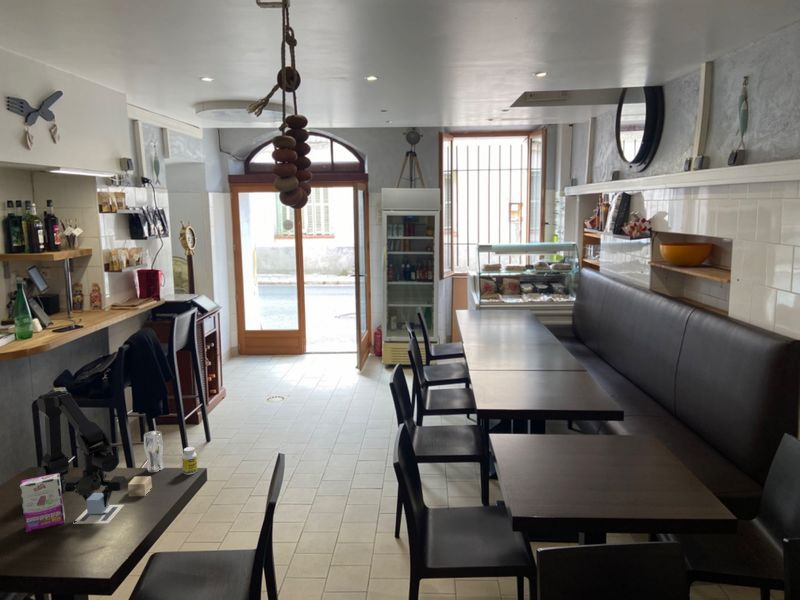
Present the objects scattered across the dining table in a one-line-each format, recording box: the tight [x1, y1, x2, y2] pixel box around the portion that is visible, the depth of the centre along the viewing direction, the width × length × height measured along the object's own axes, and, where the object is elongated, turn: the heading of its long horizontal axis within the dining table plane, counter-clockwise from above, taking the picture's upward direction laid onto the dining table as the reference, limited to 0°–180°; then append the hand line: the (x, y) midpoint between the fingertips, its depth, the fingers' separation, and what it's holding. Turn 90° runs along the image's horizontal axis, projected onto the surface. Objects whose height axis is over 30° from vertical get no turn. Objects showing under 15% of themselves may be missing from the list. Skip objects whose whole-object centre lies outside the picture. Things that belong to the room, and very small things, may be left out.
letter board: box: [72, 504, 125, 525], centre depth 202 cm, size 12×12×1 cm
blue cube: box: [85, 492, 110, 514], centre depth 201 cm, size 5×5×5 cm
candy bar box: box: [19, 473, 66, 533], centre depth 194 cm, size 11×5×16 cm, turn 117°
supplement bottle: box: [181, 446, 198, 476], centre depth 232 cm, size 5×5×10 cm
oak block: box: [127, 475, 153, 497], centre depth 216 cm, size 6×6×5 cm
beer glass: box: [143, 430, 164, 473], centre depth 234 cm, size 7×7×15 cm
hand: (98, 506), depth 201 cm, fingers closed on blue cube, 5 cm apart
